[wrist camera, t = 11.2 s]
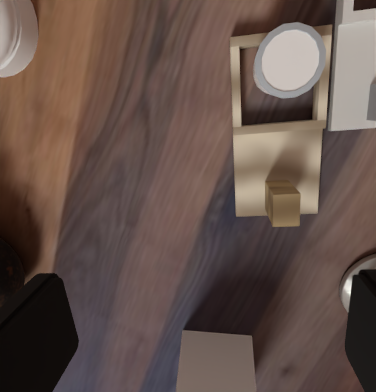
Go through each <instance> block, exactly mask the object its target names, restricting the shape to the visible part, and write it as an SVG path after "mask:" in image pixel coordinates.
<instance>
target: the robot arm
mask: <svg viewBox="0 0 376 392" xmlns="http://www.w3.org/2000/svg"><path fill="white" fill-rule="evenodd" d="M339 293H340V299H341V302H342V304H343V306H344V307H345V309H346V310H347V312H348V321H347V330H346V339H345V351H346V355H347V357H348V360H349V362H350V364H351V366H352V368H353V370H354V372H355V373H356V375H357V377H358V379H359V381H360V383H361V385H362V387H363V389H364V391H365V392H376V254H373V255H370V256H367V257H365V258H363V259H361V260H360V261H358V262H357V263H355V264H354V265H353V266H352V267H351V268H350V269H349V270H348V271H347V272H346V274H345V275H344V277H343V279H342V281H341V284H340V288H339ZM78 342H79V340H78V335H77V332H76V328H75V324H74V320H73V317H72V313H71V309H70V306H69V302H68V298H67V295H66V291H65V287H64V283H63V280H62V279H61V278H59V277H58V275H57V274H55V273H41V274H37V275H35V276H34V277H33V278H32V279H31V280H30V281H29V282H27V283H26V284H25V285H24V286H23V287H22V288H21V289H20V290H19V291H18V292H17V293H15V294H14V295H13V296H12V297H11V298H10V299H9V300H8V301H7V302H6V303H5V304H4V305H2V306H1V307H0V392H52V391H53V390H54V388H55V386H56V385H57V383H58V381H59V379H60V378H61V376H62V374H63V373H64V371H65V369H66V368H67V366H68V364H69V362H70V361H71V359H72V357H73V356H74V354H75V352H76V350H77V348H78Z"/></svg>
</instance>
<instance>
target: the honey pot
mask: <svg viewBox="0 0 376 392" xmlns="http://www.w3.org/2000/svg"><path fill="white" fill-rule="evenodd" d="M37 42H38V22H37V17H36V14H35V10H34V7H33V4H32V2H31V0H0V77H8V76H13V75H16V74H17V73H19V72H20V71H22V70H24V69H25V67H26V66H27V65H28V64H29V63H30V62H31V60H32V58H33V56H34V53H35V51H36V48H37Z"/></svg>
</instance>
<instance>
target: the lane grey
mask: <svg viewBox="0 0 376 392" xmlns="http://www.w3.org/2000/svg"><path fill="white" fill-rule="evenodd" d="M353 6H354V0H337V3H336V18H335V33H334V48H333V62H332V77H331V92H330V107H329V121H328V131H339V130H352V129H365V128H376V8H374V9H367V10H359V11H353Z"/></svg>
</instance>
